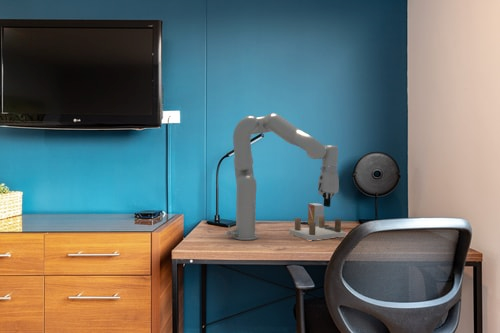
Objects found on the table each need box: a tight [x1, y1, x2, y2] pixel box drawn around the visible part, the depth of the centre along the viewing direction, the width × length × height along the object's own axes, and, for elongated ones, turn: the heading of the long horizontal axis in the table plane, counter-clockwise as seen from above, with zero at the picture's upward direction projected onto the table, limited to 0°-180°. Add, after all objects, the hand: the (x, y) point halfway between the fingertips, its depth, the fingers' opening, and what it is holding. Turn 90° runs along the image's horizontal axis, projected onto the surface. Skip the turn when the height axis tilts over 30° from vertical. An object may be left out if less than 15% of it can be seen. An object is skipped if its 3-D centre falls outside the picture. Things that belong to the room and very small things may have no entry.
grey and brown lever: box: [324, 218, 342, 232], centre depth 179 cm, size 11×3×6 cm, turn 31°
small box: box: [307, 202, 325, 226], centre depth 203 cm, size 8×6×13 cm
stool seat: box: [289, 215, 346, 241], centre depth 177 cm, size 22×18×8 cm
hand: (326, 206), depth 173 cm, fingers closed
